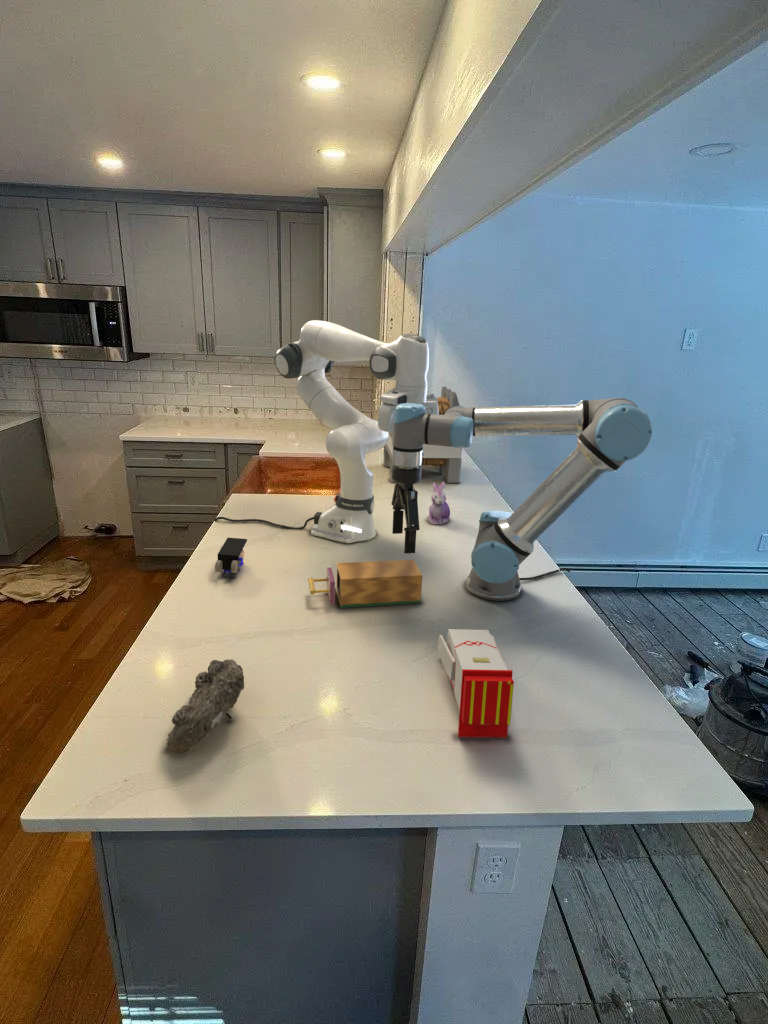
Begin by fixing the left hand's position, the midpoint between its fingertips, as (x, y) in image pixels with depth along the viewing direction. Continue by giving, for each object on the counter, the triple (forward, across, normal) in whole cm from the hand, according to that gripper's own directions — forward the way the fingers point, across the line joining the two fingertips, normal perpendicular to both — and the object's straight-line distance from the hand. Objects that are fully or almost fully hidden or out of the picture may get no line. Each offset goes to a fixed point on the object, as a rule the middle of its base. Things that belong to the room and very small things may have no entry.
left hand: (408, 444), depth 163 cm
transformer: (+38, -75, -75) cm, 112 cm away
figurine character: (+38, +44, -25) cm, 64 cm away
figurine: (+38, -37, -22) cm, 57 cm away
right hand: (+22, +14, +16) cm, 30 cm away
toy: (+38, +28, +56) cm, 73 cm away
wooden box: (+38, +19, +12) cm, 44 cm away
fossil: (+38, +74, +32) cm, 90 cm away
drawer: (+37, +24, +9) cm, 45 cm away
